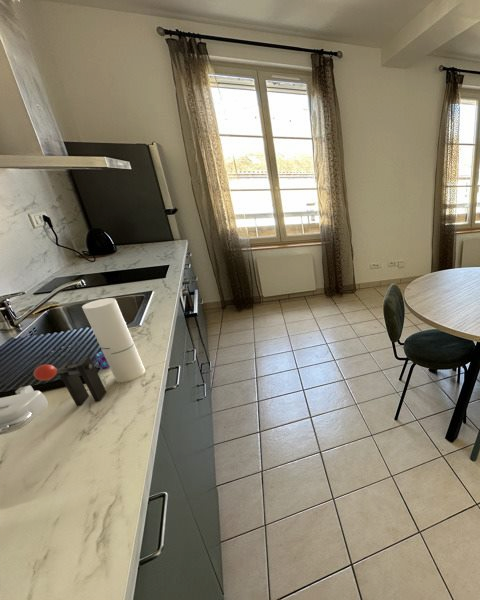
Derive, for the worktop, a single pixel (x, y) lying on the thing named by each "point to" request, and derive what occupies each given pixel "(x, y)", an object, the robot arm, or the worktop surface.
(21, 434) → the worktop surface
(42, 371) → the lever
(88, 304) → the cylindrical container
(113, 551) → the worktop surface
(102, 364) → the pudding
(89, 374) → the toaster bracket
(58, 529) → the worktop surface
